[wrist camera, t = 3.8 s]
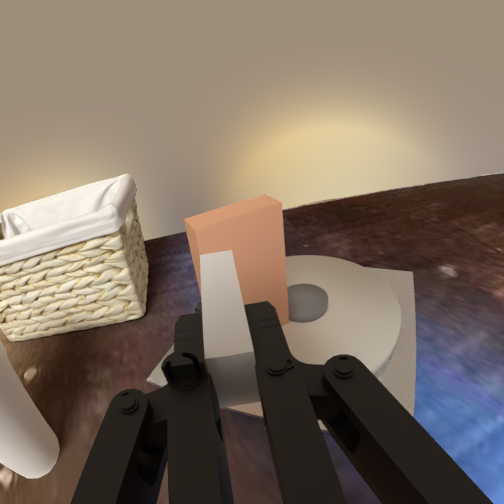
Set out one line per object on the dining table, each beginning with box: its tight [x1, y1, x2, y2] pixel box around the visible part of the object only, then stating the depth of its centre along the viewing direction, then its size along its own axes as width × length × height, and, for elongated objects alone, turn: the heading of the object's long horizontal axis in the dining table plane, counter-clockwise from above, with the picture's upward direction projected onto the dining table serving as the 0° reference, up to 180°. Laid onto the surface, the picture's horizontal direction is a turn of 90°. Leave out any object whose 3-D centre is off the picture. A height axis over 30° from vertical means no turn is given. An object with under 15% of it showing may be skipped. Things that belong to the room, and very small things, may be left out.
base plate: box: [146, 267, 416, 433], centre depth 33 cm, size 24×24×1 cm
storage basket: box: [0, 174, 148, 341], centre depth 38 cm, size 24×16×15 cm
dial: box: [184, 195, 401, 375], centre depth 30 cm, size 20×20×14 cm
